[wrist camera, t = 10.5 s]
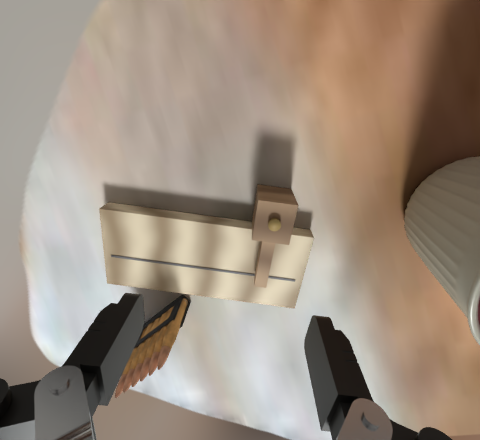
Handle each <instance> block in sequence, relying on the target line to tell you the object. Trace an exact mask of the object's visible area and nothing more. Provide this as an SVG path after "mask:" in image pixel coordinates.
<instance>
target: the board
mask: <svg viewBox="0 0 480 440" xmlns="http://www.w3.org/2000/svg"><path fill="white" fill-rule="evenodd" d="M99 210H100V220H101V229H102V239H103V248H104V258H105V267H106V277H107V283H108V284H115V285H123V286H130V287H138V288H145V289H153V290H160V291H168V292H175V293H183V294H190V295H198V296H205V297H213V298H220V299H228V300H235V301H243V302H250V303H257V304H265V305H272V306H280V307H287V308H295V305H296V301H297V298H298V294H299V291H300V287H301V283H302V280H303V276H304V272H305V269H306V265H307V262H308V258H309V254H310V251H311V247H312V243H313V240H314V237H313V234H312V232H311V230H310V229H302V228H295V227H293V231H292V235H291V239H290V243H289V245H284V244H277V243H275V248H274V253H273V258H272V262H271V267H270V272H269V277H268V281H267V286H266V288H263V287H255V286H254V277H255V272H256V266H257V261H258V255H259V250H260V244H261V241H255V240H252V222H250V221H243V220H236V219H228V218H221V217H214V216H206V215H199V214H191V213H184V212H177V211H169V210H162V209H154V208H147V207H140V206H132V205H125V204H117V203H110V202H108V203H107V204H106V205H104V206H103V207H101V208H100V209H99Z"/></svg>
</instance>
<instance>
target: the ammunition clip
mask: <svg viewBox="0 0 480 440" xmlns="http://www.w3.org/2000/svg"><path fill="white" fill-rule="evenodd" d="M190 302H191V301H190V300H188V299H187V298H186V297H185V296H183V295H181V296H180V297H179V298H177V299H176V300H175V301H174V302H172V303H171V304H170V305H168V306H167V307H166V308H164V309H163V310H162V311H161V312H159V313H158V314H157V315H155V316H154V317H153V318H151V319H150V320H149V321H148V322H146V323H145V324H144V325H143V329H142V332H141V334H140V336H139V338H138V341H137V343H136V345H135V347H134V349H133V351H132V354H131V356H130V358H129V360H128V362H127V364H126V367H125V369H124V371H123V373H122V375H121V378H120V380H119V382H118V385H117V388H116V393H115V398H117V397H118V396H119V395H120V394H121V393H122V391H123V392H126V391H127V390H128V389H129V387H130V386H131V384H132V387H134V386H135V385H136V384H137V382H138V381H139V379H140V381H143V380H144V378H145V377H146V376H147V374H148V372H149V376H150V375H152V373H153V372H154V371H155V369H156V368H157V366H158V370H159V369H161V367H162V366H163V365H164V363H165V361H166V360H167V358H168V355H169V353H170V350H171V348H172V345H173V344H174V342H175V340H176V337H177V334H178V331H179V328H181V327H182V326H183V323H184V320H185V317H186V314H187V311H188V308H189V305H190Z"/></svg>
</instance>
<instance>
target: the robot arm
mask: <svg viewBox="0 0 480 440" xmlns="http://www.w3.org/2000/svg"><path fill="white" fill-rule="evenodd" d="M143 325H144V303H143V295H140V294H131V293H125V294H124V295H123V296H122V298H121V300H120V301H119V303H118V304H114V303H111V304H109V305H108V306H107V307H105V308H104V309H103V310H102V311H100V313H99V314H98V316H97V317H96V319H95V320H94V323H92V324H91V326H90V327H89V329H88V331H87V332H86V333H85V335H84V336H83V337H82V339H81V340H80V342H79V343H78V345H77V346H76V348H75V349H74V350H73V352H72V353H71V355H70V356H69V358H68V359H67V361H66V362H65V363H64V364H63V366H62V367H59V368H56V369H55V370H53V371H51V372H49V373H48V374H47V375H45V376H44V377H43V378H42V380H39V381H35V382H31V383H26V384H20V385H15V386H10V387H9V386H8V384H7V382H6V381H5V380H3V379H0V440H96V434H95V429H94V423H93V419H92V416H93V414H94V412H95V410H96V408H97V406H98V405H105V406H107V405H108V403H109V401H110V399H111V397H112V395H113V392H114V390H115V388H116V386H117V384H118V382H119V380H120V377H121V375H122V373H123V371H124V369H125V367H126V364H127V362H128V360H129V358H130V356H131V354H132V351H133V349H134V347H135V345H136V343H137V341H138V338H139V336H140V334H141V332H142V329H143ZM304 347H305V355H306V359H307V364H308V369H309V374H310V379H311V383H312V388H313V393H314V398H315V403H316V408H317V412H318V417H319V422H320V427H321V431H330V432H331V436H332V440H452V439H451V438H450V437H448V436H447V435H446V434H444V433H443V432H441V431H439V430H437V429H435V428H431V427H426V428H423V429H422V430H421V431H420V432H419V433H417V432H415V431H413V430H411V429H408V428H406V427H404V426H402V425H399V424H397V423H395V422H393V421H392V420H390V419H389V417H388V416H387V414H386V413H385V412H384V410H383V409H382V408H381V407H380V406H379V405H377V404H376V403H374V401H373V399H372V397H371V394H370V392H369V389H368V387H367V384H366V382H365V379H364V377H363V374H362V372H361V369H360V367H359V364H358V363H357V359H356V357H355V354H354V353H353V352H354V351H353V349H352V346H351V344H350V341H349V340H348V339H347V337H346V336H345V335H344V334H343V332H342V331H341V330H335V329H334V326H333V323H332V321H331V319H330V318H329V317H323V316H314V315H313V316H312V318H311V321H310V324H309V327H308V331H307V334H306V337H305V343H304Z"/></svg>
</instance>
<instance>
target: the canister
mask: <svg viewBox="0 0 480 440" xmlns="http://www.w3.org/2000/svg"><path fill="white" fill-rule="evenodd" d="M404 222H405V225H404V226H405V230H406V235H407V237H408V239H409V241H410V243H411V245H412V247H413V248H414V250H415V251H416V252H417V254H418V255H419V257H420V258H421V259H422V261H423V262H424V263H425V265H426V266H427V267H428V269H429V270H430V271H431V273H432V274H433V275H434V276H435V278H436V279H437V280H438V281H439V283H440V284H441V285H442V286H443V288H444V289H445V290H446V291H447V293H448V294H449V295H450V297H451V298H452V299H453V300H454V302H455V303H456V304H457V306H458V307H459V308H460V309H461V310H462V312H463V313H464V314H465V316H466V317H467V318H468V323H469V327H470V330H471V332H472V335H473V337H474V338H475V340H476V341H477V343H478V344H479V345H480V156H478V157H469V158H465V159H463V160H457V161H455V162H453V163H451V164H447V165H445V166H444V167H443V168H441V169H438V170H436V171H435V172H434V173H433V174H431V175H429V176H428V177H427V178H426V179H425V180H424V181H422V182H421V184H420V185H419V186H418V187H417V188H416V189H415V192H414V193H413V195H411V198H410V200H409V202H408V203H407V209H406V210H405V217H404Z"/></svg>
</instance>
